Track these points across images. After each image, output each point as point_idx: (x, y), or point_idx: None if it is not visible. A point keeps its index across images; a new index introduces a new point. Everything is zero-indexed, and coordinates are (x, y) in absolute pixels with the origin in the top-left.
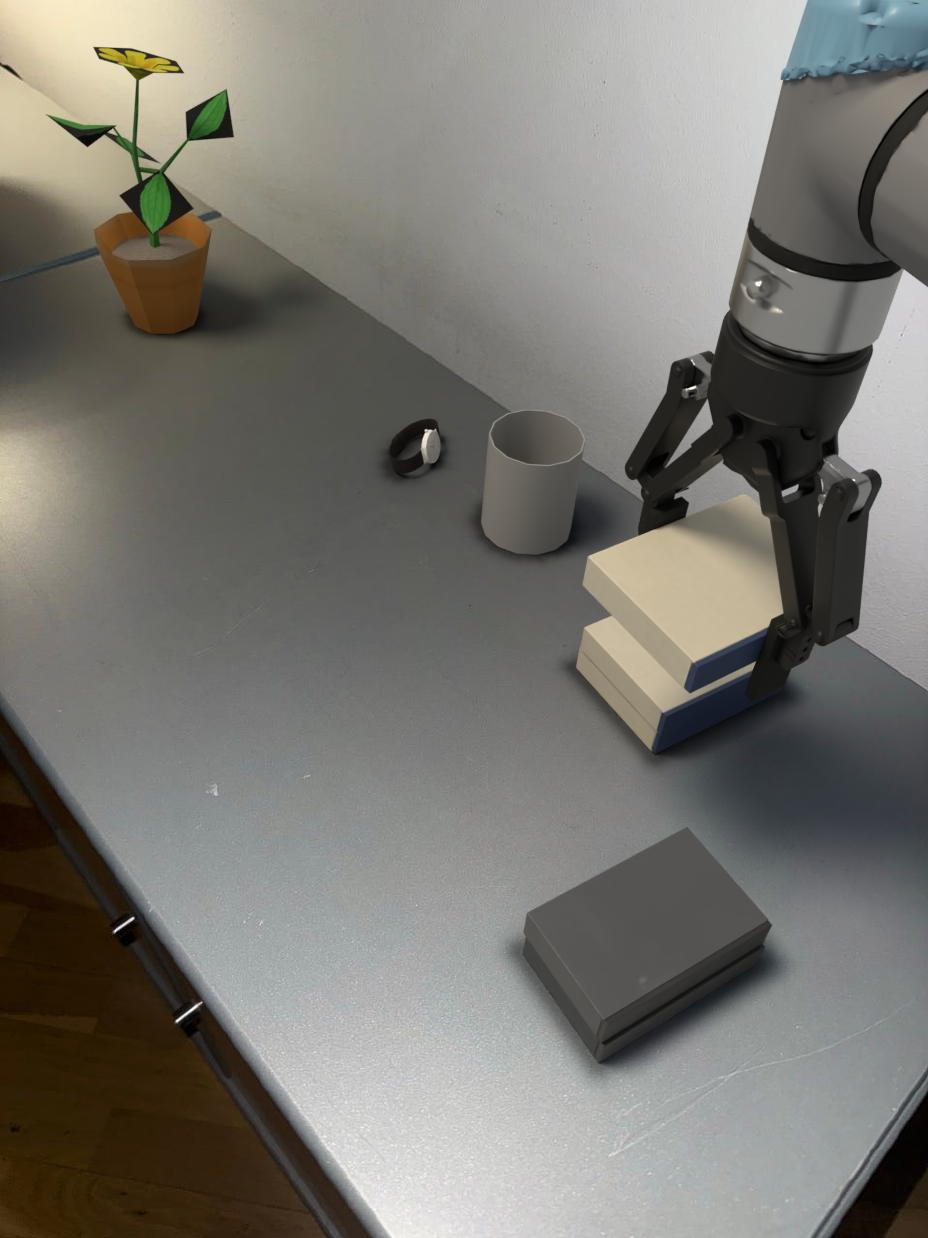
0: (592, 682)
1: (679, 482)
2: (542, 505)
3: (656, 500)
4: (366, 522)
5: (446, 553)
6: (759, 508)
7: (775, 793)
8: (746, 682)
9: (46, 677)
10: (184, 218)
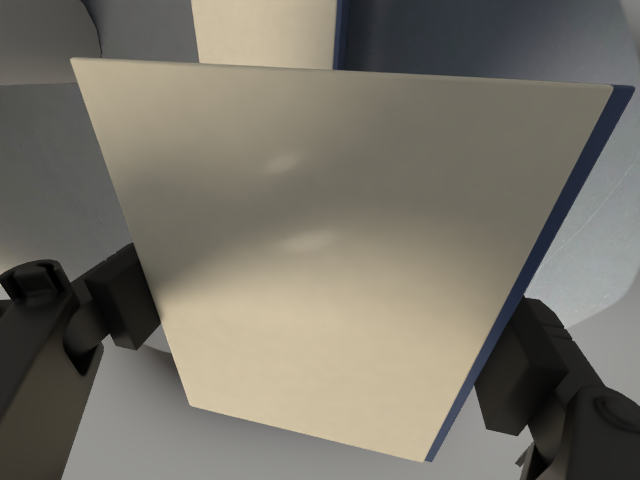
0: None
1: (59, 466)
2: (38, 50)
3: (97, 354)
4: (54, 160)
5: (92, 128)
6: (143, 77)
7: (438, 63)
8: (343, 16)
9: (154, 339)
10: None
